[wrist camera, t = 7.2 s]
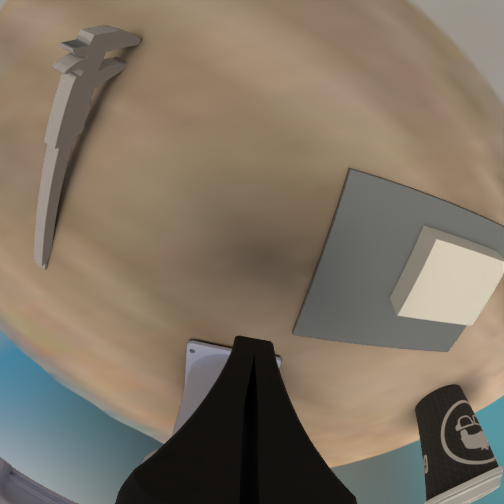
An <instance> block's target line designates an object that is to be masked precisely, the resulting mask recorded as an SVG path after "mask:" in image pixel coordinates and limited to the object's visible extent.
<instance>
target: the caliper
mask: <svg viewBox="0 0 504 504" xmlns="http://www.w3.org/2000/svg"><path fill="white" fill-rule="evenodd" d="M140 40H141V38H140V37H138V36H136V35H133V34H131V33H129V32H127V31H124V30H122V29H118V28H115V27H112V26H108V25H103V26H97V27H91V28H85V29H81V31H80V33H79V35H78V37H77V39H76V40H72V41H67V42H62V43H60V46H61V47H62V48H63V49H65V50H67V51H69V52H71V53H69V54H67V55H65V56H64V57H62V58H61V59H60V60H58V61H57V62H56V63H55V64H54V65H53V66H52V68H54V69H56V70H57V71H59V72H61V73H63V74H62V76H61V79H60V82H59V85H58V88H57V92H56V95H55V99H54V102H53V106H52V110H51V114H50V118H49V122H48V126H47V131H46V135H45V140H44V142H46V143H47V144H48V145H47V150H46V155H45V160H44V165H43V171H42V177H41V183H40V190H39V197H38V206H37V215H36V227H35V243H34V261H35V262H36V263H37V264H38V265H39V266H40V267H42V268H43V269H44V270H46V269H47V262H48V259H49V257H50V253H51V249H52V243H53V235H54V228H55V221H56V215H57V209H58V203H59V198H60V193H61V188H62V184H63V179H64V175H65V171H66V167H67V163H68V159H69V155H70V151H71V148H72V144H73V141H74V138H75V137H77V136H78V135H80V134H81V133H82V132H83V130H84V125H85V120H86V118H87V116H88V114H89V112H90V105H91V99H90V98H91V96H92V93H93V91H94V89H95V88H96V87H98V86H99V85H101V84H102V83H104V82H105V81H107V80H108V79H110V78H112V77H113V76H115V75H116V74H118V73H120V72H121V71H123V70H124V68H125V67H126V65H127V62H125V61H123V60H121V59H119V58H117V57H115V58H106V59H103V58H104V56H105V53H106V52H107V51H111V50H116V49H120V48H125V47H130V46H136V45H139V43H140Z"/></svg>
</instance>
